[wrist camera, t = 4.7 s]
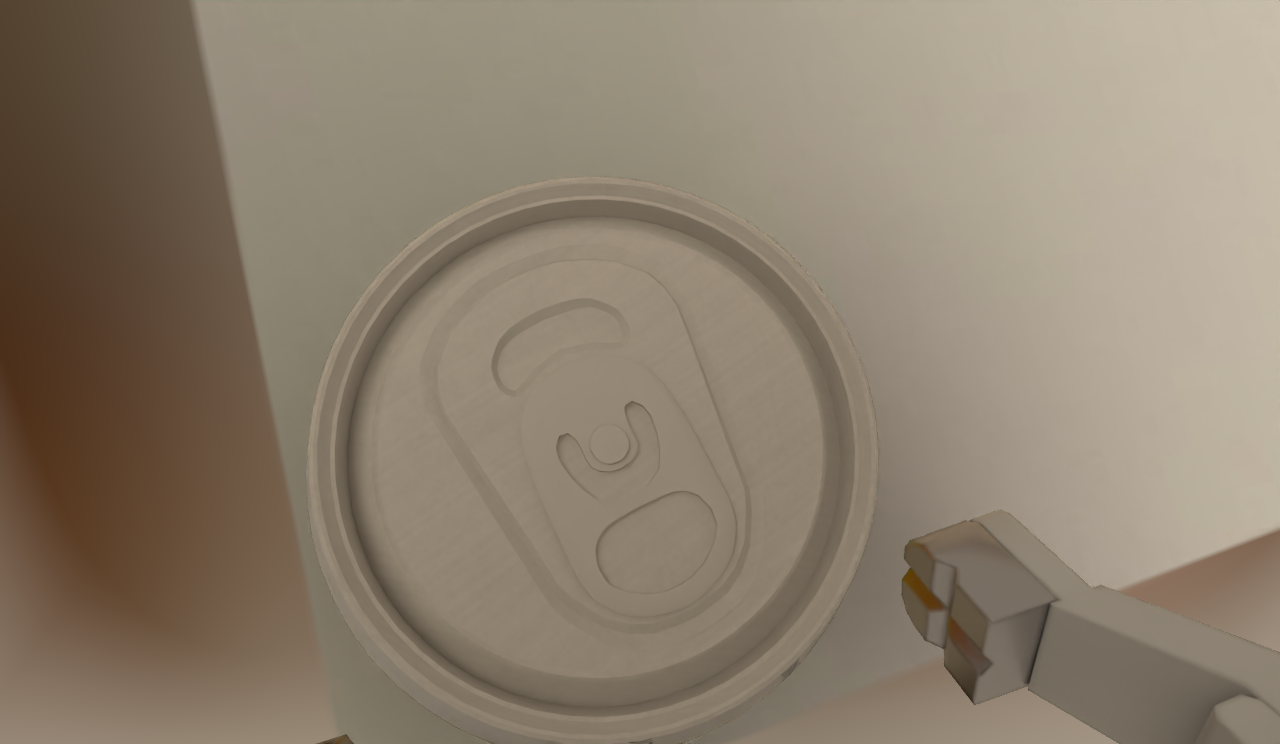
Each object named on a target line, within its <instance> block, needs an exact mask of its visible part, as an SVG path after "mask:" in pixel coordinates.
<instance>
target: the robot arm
mask: <svg viewBox="0 0 1280 744" xmlns="http://www.w3.org/2000/svg"><path fill="white" fill-rule="evenodd" d="M904 559H905V561H906V562H907V563H908V564H909V566H910V567H911V568H910V569H909V570H908V572H907V573H906V574H905V576H904V577H903V579H902V594H901V595H902V598H903V601H904V605H905V608H906V611H907V614H908V615H909V617H910V619H911V621H912V623H913V625H914V626H915V628H916V629H917V630H918V632H919V633H920V634H921V636H922V637H923V639H924V640H925V641H927V642H929V643H932V644H934V645H936V646H938V647H940V648H942V649H944V666H945V667H946V669H947V670H948V671H949V673H950V674H951V675H952V677H953V678H954V679H955V680H956V682H957V683H958V684H959V686H960V687H961V688H962V690H963V691H964V692H965V693H966V695H967V696H968V697H969V699H970V700H971V701H972V703H973V704H974V705H976V704H979V703H982V702H985V701H988V700H990V699H993V698H996V697H999V696H1002V695H1004V694H1007V693H1010V692H1013V691H1016V690H1019V689H1021V688H1024V687H1027V686H1029V687H1028V690H1029V691H1031V692H1033V693H1034V694H1036V695H1038V696H1039V697H1041V698H1043V699H1044V700H1046V701H1048V702H1050V703H1051V704H1053V705H1055V706H1057V707H1058V708H1060V709H1061V710H1063V711H1065V712H1067V713H1068V714H1070V715H1072V716H1073V717H1075V718H1077V719H1079V720H1080V721H1082V722H1083V723H1085V724H1087V725H1089V726H1090V727H1092V728H1094V729H1095V730H1097V731H1099V732H1101V733H1102V734H1104V735H1106V736H1107V737H1109V738H1111V739H1112V740H1114V741H1116V742H1117V743H1119V744H1280V652H1277V651H1275V650H1272V649H1269V648H1266V647H1264V646H1261V645H1259V644H1256V643H1253V642H1251V641H1248V640H1246V639H1243V638H1240V637H1238V636H1235V635H1232V634H1230V633H1227V632H1224V631H1222V630H1219V629H1216V628H1213V627H1211V626H1209V625H1206V624H1203V623H1201V622H1198V621H1195V620H1193V619H1190V618H1187V617H1185V616H1182V615H1179V614H1177V613H1174V612H1171V611H1169V610H1166V609H1164V608H1161V607H1158V606H1156V605H1153V604H1150V603H1148V602H1145V601H1142V600H1140V599H1137V598H1134V597H1132V596H1129V595H1126V594H1124V593H1121V592H1119V591H1116V590H1113V589H1111V588H1108V587H1105V586H1103V585H1099V586H1096V587H1093V588H1092V587H1091V586H1089V585H1088V584H1087V583H1086V582H1085V581H1084V580H1083V579H1082V578H1081V577H1080V576H1078V575H1077V574H1076V573H1075V572H1074V571H1073V570H1072V569H1071V568H1070V567H1068V566H1067V565H1066V564H1065V563H1064V562H1063V561H1062V560H1061V559H1060V558H1059V557H1057V556H1056V555H1055V554H1054V553H1053V552H1052V551H1051V550H1050V549H1049V548H1048V547H1046V546H1045V545H1044V544H1043V543H1042V542H1041V541H1040V540H1039V539H1038V538H1037V537H1035V536H1034V535H1033V534H1032V533H1031V532H1030V531H1029V530H1028V529H1027V528H1026V527H1024V526H1023V525H1022V524H1021V523H1020V522H1019V521H1018V520H1017V519H1016V518H1014V517H1013V516H1012V515H1011V514H1010V513H1008V512H1005V511H1003V510H997V511H993V512H991V513H988V514H985V515H982V516H980V517H977V518H974V519H972V520H969V521H966V520H965V521H962V522H960V523H957V524H954V525H951V526H949V527H946V528H943V529H940V530H937V531H935V532H932V533H929V534H926V535H924V536H921V537H918V538H915V539H912V540H910V541H909V542H908V544H907V545H906V546H905V553H904ZM317 744H354V743H353V742H352V741H351V739H350V738H349V737H348V735H347V734H345V735H342V736H339V737H336V738H333V739H330V740H327V741H323V742H321V743H317Z"/></svg>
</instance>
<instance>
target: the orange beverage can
mask: <svg viewBox="0 0 1280 744" xmlns="http://www.w3.org/2000/svg"><path fill="white" fill-rule="evenodd" d="M878 468H879V447H878V436H877V425H876V417H875V412H874V407H873V402H872V397H871V392H870V388H869V385H868V382H867V379H866V376H865V372H864V369H863V366H862V363H861V360H860V358H859V355H858V353H857V351H856V349H855V346H854V344H853V342H852V340H851V337H850V335H849V333H848V331H847V329H846V327H845V326H844V324H843V322H842V321H841V319H840V317H839V315H838V314H837V312H836V310H835V309H834V307H833V305H832V304H831V302H830V301H829V300H828V298H827V297H826V296H825V294H824V293H823V292H822V290H821V289H820V288H819V286H818V285H817V283H816V282H815V281H814V280H813V279H812V277H811V276H810V275H809V274H808V273H807V272H806V271H805V270H804V269H803V268H802V267H801V265H800V264H799V263H798V262H797V261H796V260H795V259H794V258H793V257H792V256H791V255H790V254H789V253H787V252H786V251H785V250H784V249H783V248H782V247H781V246H779V245H778V244H777V243H776V242H775V241H774V240H773V239H772V238H770V237H769V236H767V235H766V234H764V233H763V232H762V231H760V230H759V229H757V228H756V227H755V226H753V225H752V224H750V223H749V222H748V221H746V220H744V219H742V218H741V217H739V216H737V215H735V214H734V213H732V212H730V211H728V210H726V209H725V208H723V207H721V206H719V205H717V204H714V203H712V202H710V201H707V200H705V199H703V198H700V197H698V196H696V195H693V194H690V193H687V192H684V191H681V190H677V189H674V188H671V187H668V186H664V185H659V184H654V183H650V182H645V181H640V180H633V179H623V178H613V177H573V178H564V179H556V180H547V181H542V182H537V183H533V184H529V185H524V186H520V187H515V188H513V189H510V190H507V191H504V192H501V193H498V194H495V195H492V196H489V197H486V198H484V199H482V200H480V201H478V202H476V203H473V204H471V205H469V206H467V207H465V208H463V209H461V210H458V211H457V212H455V213H454V214H452V215H450V216H449V217H447V218H445V219H444V220H442V221H440V222H439V223H437V224H435V225H434V226H432V227H431V228H429V229H428V230H427V231H426V232H424V233H423V234H422V235H420V236H419V237H418V238H416V239H415V240H414V241H413V242H411V243H410V244H409V245H407V246H406V247H405V248H404V249H403V250H402V251H401V252H400V253H399V254H398V255H397V256H396V257H395V258H394V259H393V260H392V261H391V262H390V263H389V264H387V265H386V266H385V267H384V268H383V270H382V271H381V272H380V273H379V275H378V276H377V277H376V278H375V279H374V281H373V282H372V283H371V284H370V285H369V287H368V288H367V289H366V290H365V291H364V293H363V294H362V296H361V297H360V299H359V300H358V302H357V303H356V305H355V306H354V308H353V309H352V311H351V313H350V314H349V316H348V317H347V319H346V320H345V322H344V324H343V326H342V328H341V330H340V332H339V334H338V336H337V338H336V340H335V342H334V344H333V346H332V348H331V351H330V353H329V356H328V359H327V362H326V365H325V367H324V370H323V373H322V376H321V378H320V382H319V386H318V390H317V395H316V399H315V403H314V408H313V412H312V419H311V428H310V434H309V443H308V452H307V462H306V488H307V505H308V513H309V520H310V527H311V534H312V538H313V542H314V545H315V549H316V553H317V557H318V560H319V564H320V568H321V570H322V573H323V575H324V578H325V580H326V582H327V585H328V587H329V590H330V592H331V595H332V597H333V600H334V602H335V603H336V605H337V607H338V609H339V611H340V612H341V614H342V616H343V618H344V619H345V621H346V623H347V625H348V627H349V628H350V630H351V632H352V633H353V634H354V636H355V637H356V639H357V640H358V641H359V643H360V644H361V645H362V647H363V648H364V649H365V651H366V652H367V653H368V655H369V656H370V657H371V659H372V660H373V661H374V662H375V663H376V664H377V665H378V666H379V667H380V668H381V669H382V670H383V671H384V672H385V674H386V675H387V676H388V677H389V678H390V679H391V680H392V681H393V682H394V683H395V684H396V685H397V686H398V687H399V688H401V689H402V690H403V691H404V692H406V693H407V694H408V695H409V696H411V697H412V698H413V699H414V700H416V701H417V702H418V703H419V704H421V705H422V706H423V707H424V708H426V709H427V710H429V711H430V712H432V713H434V714H435V715H437V716H439V717H440V718H442V719H444V720H445V721H447V722H449V723H450V724H452V725H454V726H455V727H457V728H459V729H461V730H464V731H466V732H468V733H470V734H473V735H475V736H477V737H479V738H482V739H484V740H486V741H489V742H491V743H494V744H680V743H682V742H685V741H688V740H690V739H693V738H696V737H699V736H701V735H703V734H705V733H707V732H709V731H711V730H713V729H715V728H717V727H719V726H721V725H723V724H725V723H727V722H728V721H730V720H732V719H734V718H736V717H737V716H738V715H740V714H741V713H743V712H744V711H746V710H747V709H749V708H750V707H751V706H753V705H754V704H756V703H757V702H759V701H760V700H762V699H763V698H764V697H765V696H766V695H767V694H769V693H770V692H771V691H772V690H773V689H774V688H775V687H776V686H778V685H779V684H780V683H781V682H782V681H783V680H784V679H785V678H787V677H788V676H789V675H790V674H791V672H792V671H793V670H794V669H795V668H796V667H797V666H798V664H799V663H800V662H801V661H802V660H803V659H804V658H805V657H806V655H807V654H808V653H809V652H810V651H811V650H812V648H813V647H814V645H815V644H816V642H817V641H818V639H819V638H820V637H821V635H822V634H823V632H824V631H825V629H826V628H827V626H828V625H829V624H830V622H831V620H832V618H833V616H834V614H835V612H836V611H837V609H838V607H839V605H840V603H841V601H842V599H843V597H844V595H845V594H846V591H847V589H848V587H849V586H850V584H851V582H852V580H853V578H854V576H855V573H856V570H857V568H858V565H859V563H860V560H861V557H862V555H863V552H864V550H865V547H866V543H867V539H868V535H869V532H870V528H871V524H872V520H873V516H874V510H875V502H876V495H877V488H878Z"/></svg>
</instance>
